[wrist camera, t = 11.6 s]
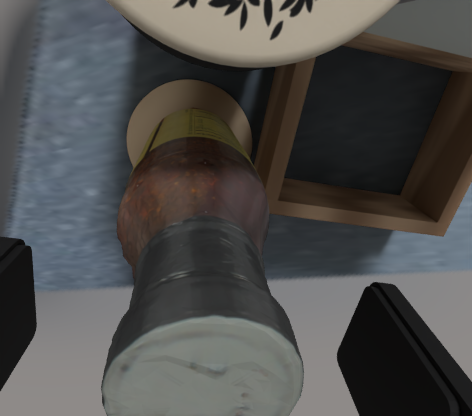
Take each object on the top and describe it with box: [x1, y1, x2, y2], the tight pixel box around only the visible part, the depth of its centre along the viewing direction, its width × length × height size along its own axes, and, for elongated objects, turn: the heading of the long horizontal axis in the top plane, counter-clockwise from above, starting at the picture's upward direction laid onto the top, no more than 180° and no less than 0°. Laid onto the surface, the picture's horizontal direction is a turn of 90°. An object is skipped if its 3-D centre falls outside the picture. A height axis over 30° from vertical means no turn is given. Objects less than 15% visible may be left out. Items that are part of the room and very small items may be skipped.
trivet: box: [127, 79, 252, 168], centre depth 25 cm, size 9×9×1 cm
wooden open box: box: [254, 32, 472, 236], centre depth 22 cm, size 14×12×7 cm
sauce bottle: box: [101, 108, 304, 416], centre depth 15 cm, size 7×6×20 cm
